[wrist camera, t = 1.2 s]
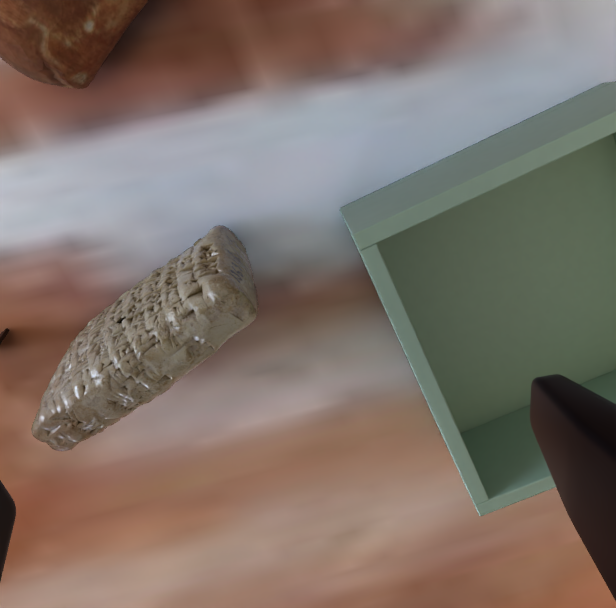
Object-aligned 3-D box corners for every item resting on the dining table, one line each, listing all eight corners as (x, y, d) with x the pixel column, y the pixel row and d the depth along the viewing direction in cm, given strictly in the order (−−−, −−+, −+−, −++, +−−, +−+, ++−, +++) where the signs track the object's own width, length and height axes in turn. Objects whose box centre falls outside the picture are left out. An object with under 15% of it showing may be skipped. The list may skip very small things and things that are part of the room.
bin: (674, 345, 24) (772, 403, 19) (443, 439, 26) (480, 517, 21) (603, 82, 21) (702, 70, 16) (338, 208, 22) (351, 234, 17)
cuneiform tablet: (-16, 346, 24) (188, 172, 21) (67, 405, 26) (261, 251, 23) (-100, 465, 17) (174, 237, 15) (17, 530, 19) (275, 338, 17)
